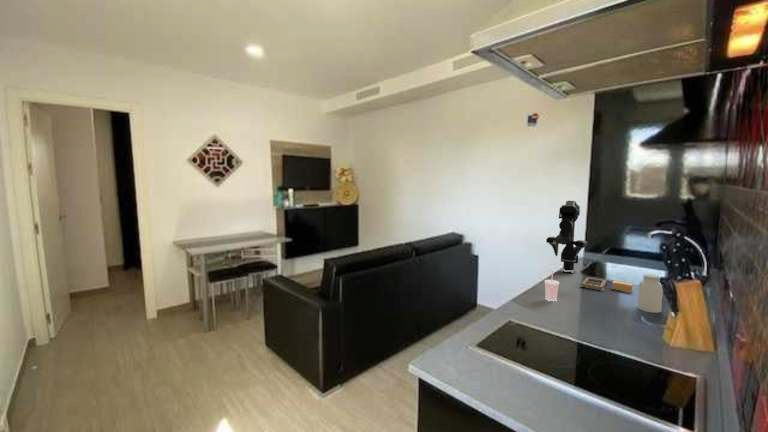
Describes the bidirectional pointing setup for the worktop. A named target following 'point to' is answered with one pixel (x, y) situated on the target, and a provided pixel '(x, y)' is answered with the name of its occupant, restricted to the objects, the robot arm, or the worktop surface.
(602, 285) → the board
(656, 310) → the pill bottle
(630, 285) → the ochre bar
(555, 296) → the beverage cup
